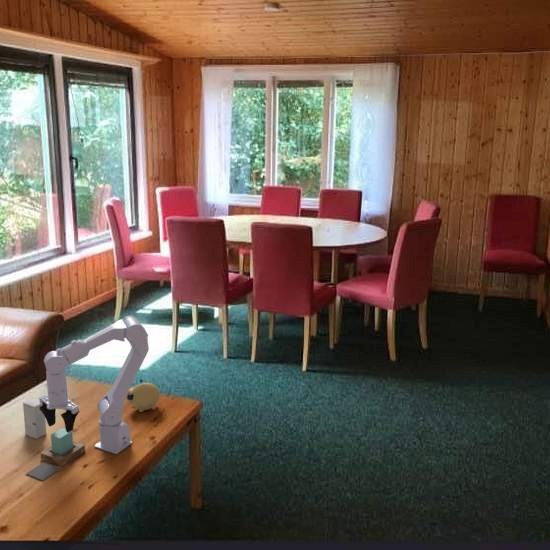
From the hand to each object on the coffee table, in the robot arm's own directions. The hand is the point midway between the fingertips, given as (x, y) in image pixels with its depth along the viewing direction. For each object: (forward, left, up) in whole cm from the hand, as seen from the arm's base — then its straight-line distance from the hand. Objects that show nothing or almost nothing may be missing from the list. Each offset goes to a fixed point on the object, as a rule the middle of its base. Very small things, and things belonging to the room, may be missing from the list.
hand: (60, 428), depth 187 cm
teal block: (0, 0, -10) cm, 10 cm away
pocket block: (0, 0, -10) cm, 10 cm away
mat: (-2, +9, -10) cm, 14 cm away
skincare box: (+17, -5, -10) cm, 21 cm away
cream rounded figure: (-4, -36, -10) cm, 38 cm away
